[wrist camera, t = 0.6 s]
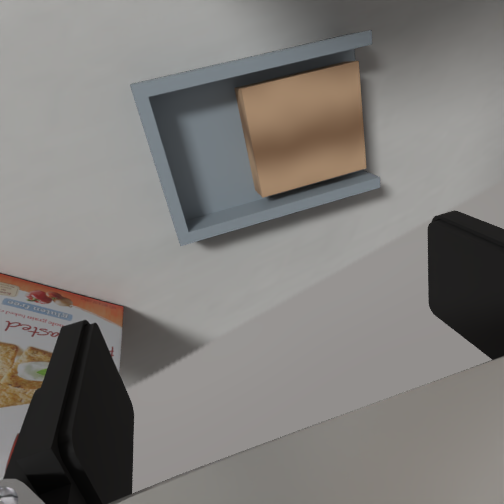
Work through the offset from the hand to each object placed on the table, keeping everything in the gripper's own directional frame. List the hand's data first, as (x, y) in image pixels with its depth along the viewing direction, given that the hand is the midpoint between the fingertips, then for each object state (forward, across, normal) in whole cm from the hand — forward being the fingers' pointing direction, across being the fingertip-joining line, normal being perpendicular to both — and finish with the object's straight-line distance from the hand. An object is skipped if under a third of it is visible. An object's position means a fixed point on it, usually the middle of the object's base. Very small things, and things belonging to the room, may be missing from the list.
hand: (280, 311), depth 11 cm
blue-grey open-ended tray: (+27, -7, 0) cm, 28 cm away
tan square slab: (+26, -10, 0) cm, 28 cm away
